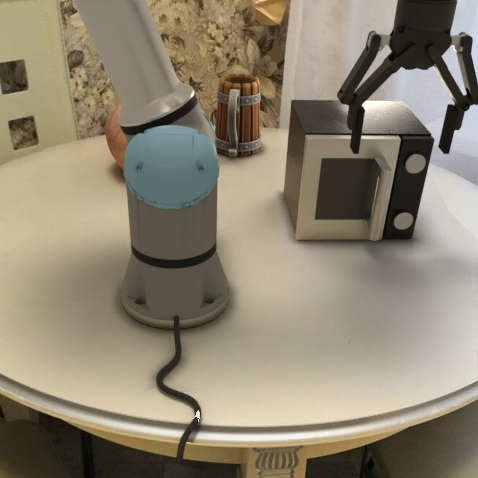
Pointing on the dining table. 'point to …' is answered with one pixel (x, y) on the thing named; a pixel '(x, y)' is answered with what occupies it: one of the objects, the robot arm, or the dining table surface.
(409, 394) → the dining table surface
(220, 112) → the mug
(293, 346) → the dining table surface
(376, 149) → the microwave door
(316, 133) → the microwave
